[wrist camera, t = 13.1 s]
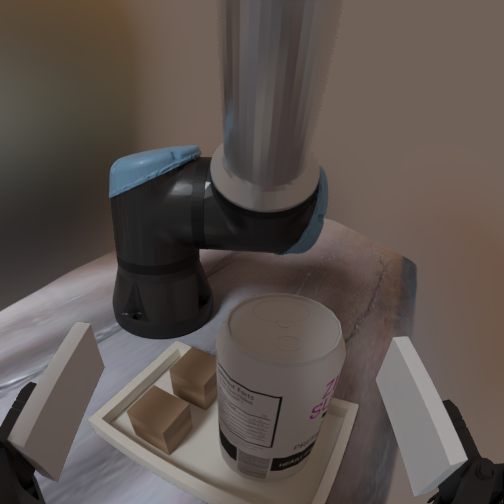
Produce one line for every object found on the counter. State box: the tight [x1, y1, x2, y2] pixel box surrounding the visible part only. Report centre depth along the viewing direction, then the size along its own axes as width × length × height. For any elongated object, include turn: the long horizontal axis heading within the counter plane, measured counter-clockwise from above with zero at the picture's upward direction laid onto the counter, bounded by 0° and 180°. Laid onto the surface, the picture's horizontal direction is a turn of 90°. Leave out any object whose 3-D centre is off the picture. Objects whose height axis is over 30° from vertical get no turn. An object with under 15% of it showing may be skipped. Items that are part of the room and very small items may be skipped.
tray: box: [88, 341, 359, 504], centre depth 26 cm, size 22×15×2 cm
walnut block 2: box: [169, 347, 217, 410], centre depth 30 cm, size 4×4×4 cm
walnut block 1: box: [127, 385, 193, 455], centre depth 25 cm, size 4×4×4 cm
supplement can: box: [216, 293, 347, 482], centre depth 22 cm, size 8×8×15 cm
